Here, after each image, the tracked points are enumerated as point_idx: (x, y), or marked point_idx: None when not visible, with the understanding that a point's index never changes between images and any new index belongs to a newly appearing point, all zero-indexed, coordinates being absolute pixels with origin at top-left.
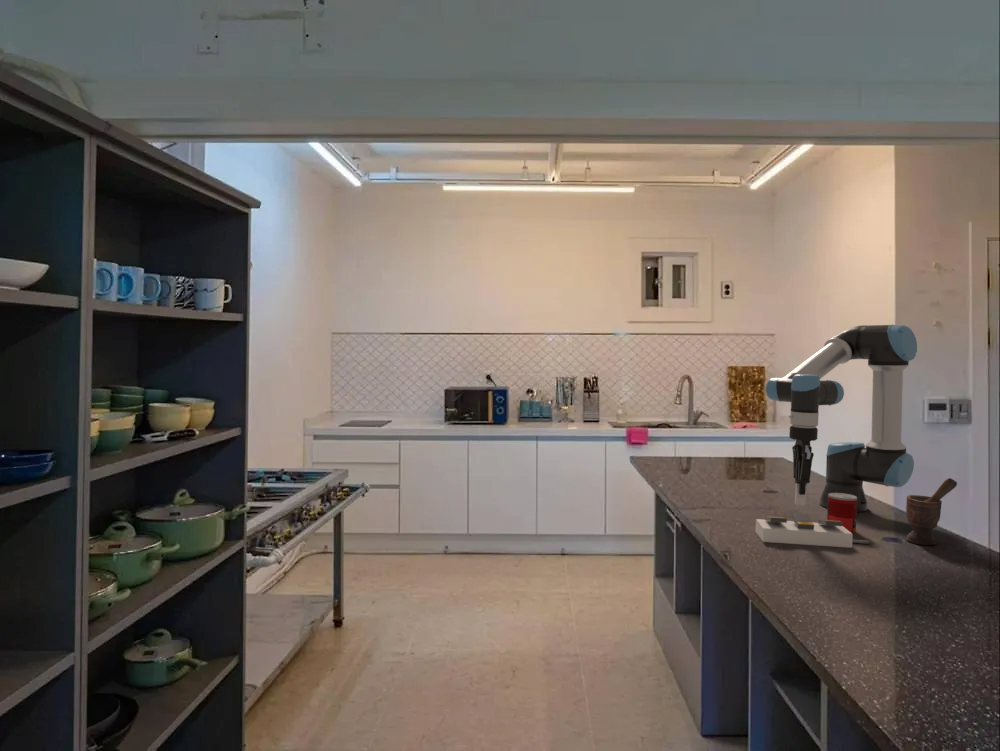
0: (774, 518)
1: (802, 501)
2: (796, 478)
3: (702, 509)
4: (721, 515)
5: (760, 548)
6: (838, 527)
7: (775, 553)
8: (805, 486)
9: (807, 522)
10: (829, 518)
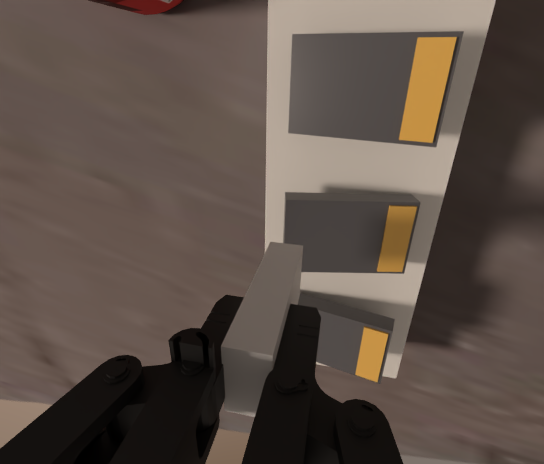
0: (382, 370)
1: (298, 277)
2: (211, 443)
3: (73, 370)
4: (114, 347)
5: (467, 370)
6: (351, 24)
7: (529, 350)
8: (314, 363)
9: (390, 229)
10: (136, 3)
